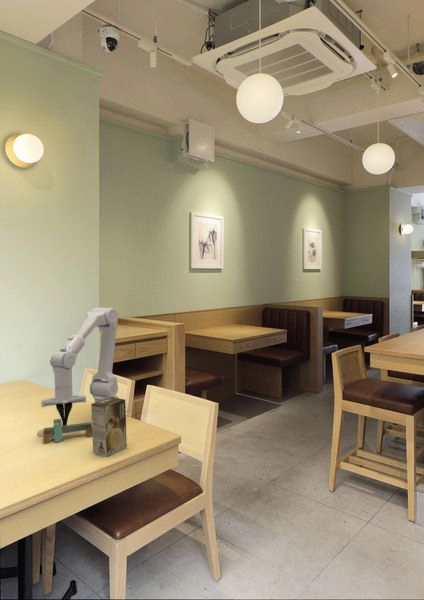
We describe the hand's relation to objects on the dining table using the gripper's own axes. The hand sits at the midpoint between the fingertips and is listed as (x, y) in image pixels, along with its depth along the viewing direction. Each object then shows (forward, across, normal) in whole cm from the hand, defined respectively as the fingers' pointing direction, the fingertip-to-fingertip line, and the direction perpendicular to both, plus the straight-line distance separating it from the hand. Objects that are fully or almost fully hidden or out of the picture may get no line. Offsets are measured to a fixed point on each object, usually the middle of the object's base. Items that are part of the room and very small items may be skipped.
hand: (64, 424), depth 149 cm
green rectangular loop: (+5, -2, 0) cm, 5 cm away
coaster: (+5, -4, +8) cm, 10 cm away
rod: (+5, +1, 0) cm, 5 cm away
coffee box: (+5, +13, -17) cm, 22 cm away
